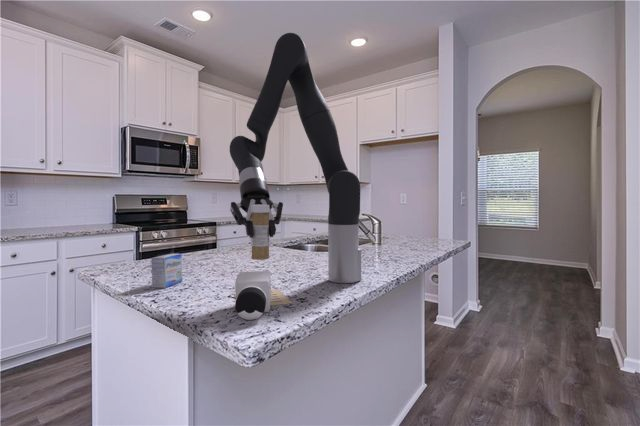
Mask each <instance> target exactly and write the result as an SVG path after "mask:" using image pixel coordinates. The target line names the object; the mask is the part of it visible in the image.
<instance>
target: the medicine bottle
mask: <svg viewBox="0 0 640 426" xmlns="http://www.w3.org/2000/svg"><path fill="white" fill-rule="evenodd" d="M234 287H235V288H234V289H235V291H234V292H235V293H234V294H235V295H236V298H235V304H234V308H235V313H236V314H237V315H238V316H239V317H240V318H242V319H244V320H247V321H252V320H257V319H258V318H260V317H261V316H262V315H263V314H264V313H269V312H270V308H271V306H270V300H271V290H272V288H271V271H269V270H265V271H259V270H257V271H239V272H238V275H237V277H236V279H235V283H234Z"/></svg>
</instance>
